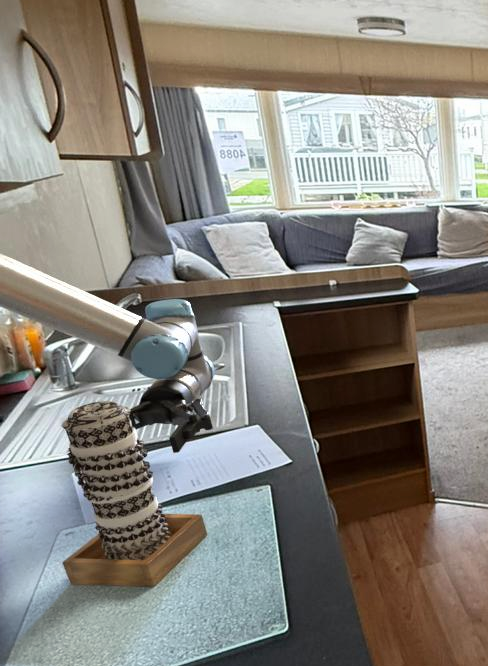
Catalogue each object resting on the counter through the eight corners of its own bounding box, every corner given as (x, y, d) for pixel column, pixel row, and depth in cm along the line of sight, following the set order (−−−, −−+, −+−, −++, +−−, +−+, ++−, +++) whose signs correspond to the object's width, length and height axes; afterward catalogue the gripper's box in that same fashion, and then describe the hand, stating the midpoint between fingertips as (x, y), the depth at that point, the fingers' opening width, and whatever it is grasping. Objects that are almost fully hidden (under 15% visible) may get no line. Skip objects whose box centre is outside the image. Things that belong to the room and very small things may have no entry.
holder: (70, 584, 97) (61, 562, 95) (132, 532, 109) (125, 512, 107) (154, 586, 96) (147, 564, 95) (207, 534, 108) (202, 514, 107)
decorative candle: (96, 577, 97) (40, 426, 87) (117, 541, 105) (68, 400, 95) (166, 564, 99) (119, 416, 90) (181, 530, 107) (140, 392, 98)
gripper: (249, 408, 124) (219, 461, 105) (99, 424, 118) (38, 482, 99) (240, 372, 121) (208, 419, 102) (86, 386, 115) (22, 438, 96)
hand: (124, 450), depth 100 cm, fingers open, 13 cm apart
